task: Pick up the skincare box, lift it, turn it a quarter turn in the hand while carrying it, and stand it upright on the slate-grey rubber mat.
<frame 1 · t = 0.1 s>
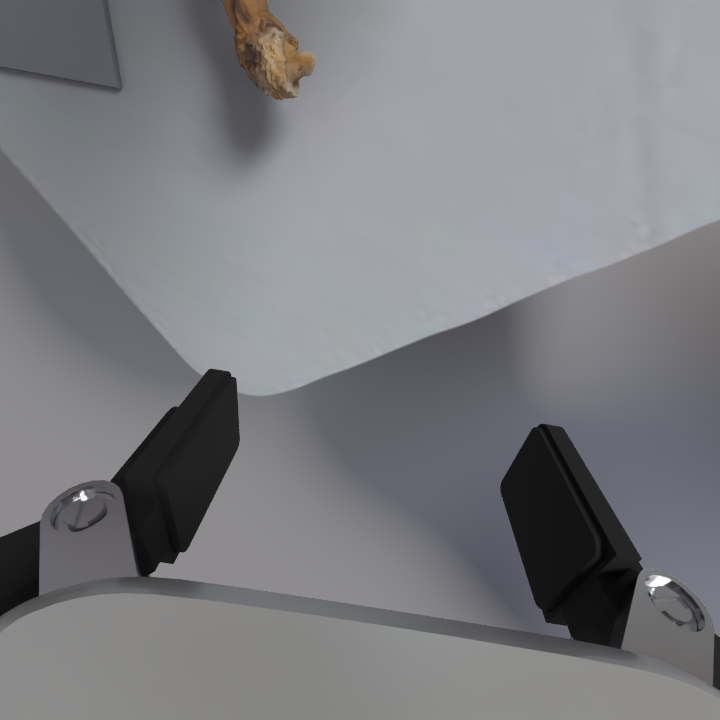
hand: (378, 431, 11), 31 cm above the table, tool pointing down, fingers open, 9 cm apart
lion figurine: (270, 14, 29), on the table
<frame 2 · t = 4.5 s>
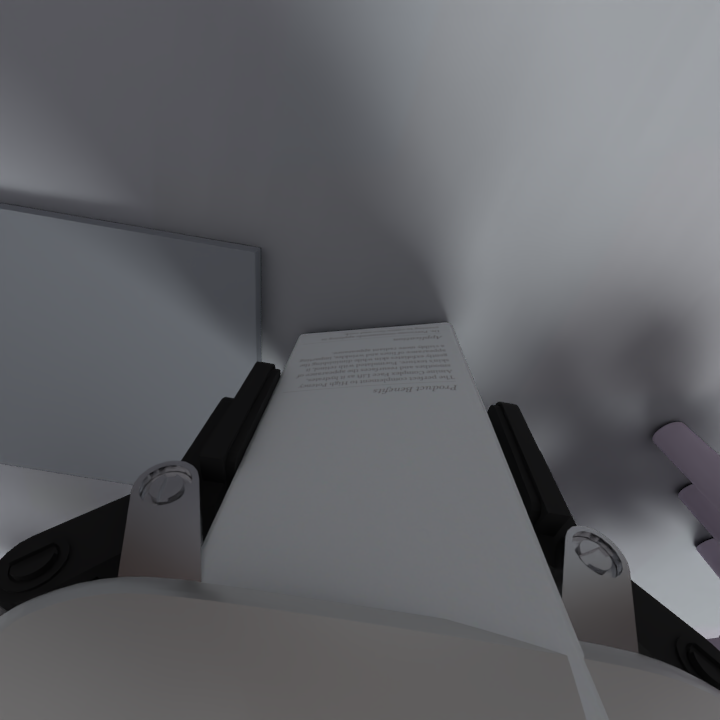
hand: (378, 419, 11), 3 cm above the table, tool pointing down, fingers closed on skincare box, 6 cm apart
mat: (87, 372, 16), on the table
skincare box: (381, 363, 14), on the table, touching gripper
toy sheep: (633, 548, 20), on the table
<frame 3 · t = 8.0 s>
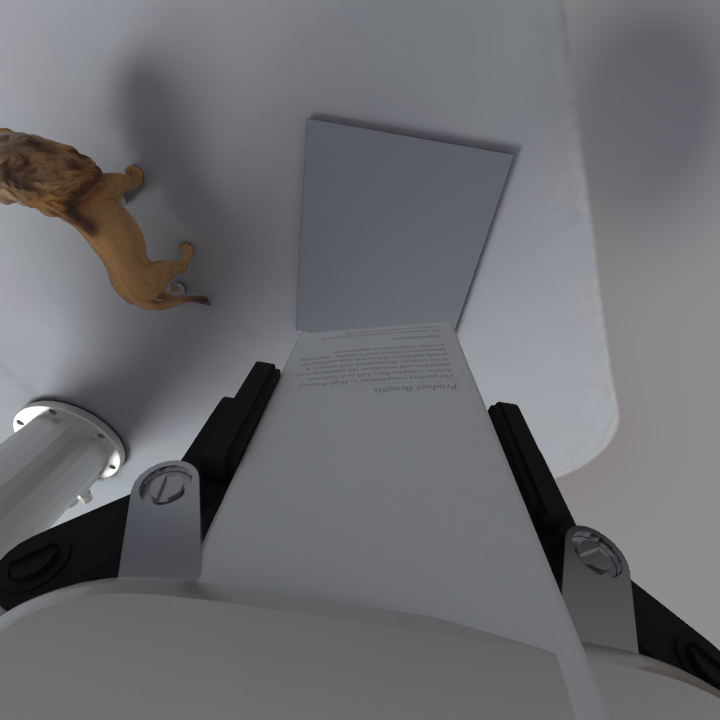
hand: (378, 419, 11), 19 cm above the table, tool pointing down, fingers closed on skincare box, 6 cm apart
lion figurine: (147, 222, 28), on the table
mat: (387, 253, 28), on the table
skincare box: (381, 362, 14), point 16 cm above the table, touching gripper
when the fingers open (5 cm above the table, at t = 11.2 s): skincare box drops 1 cm, resting on mat.
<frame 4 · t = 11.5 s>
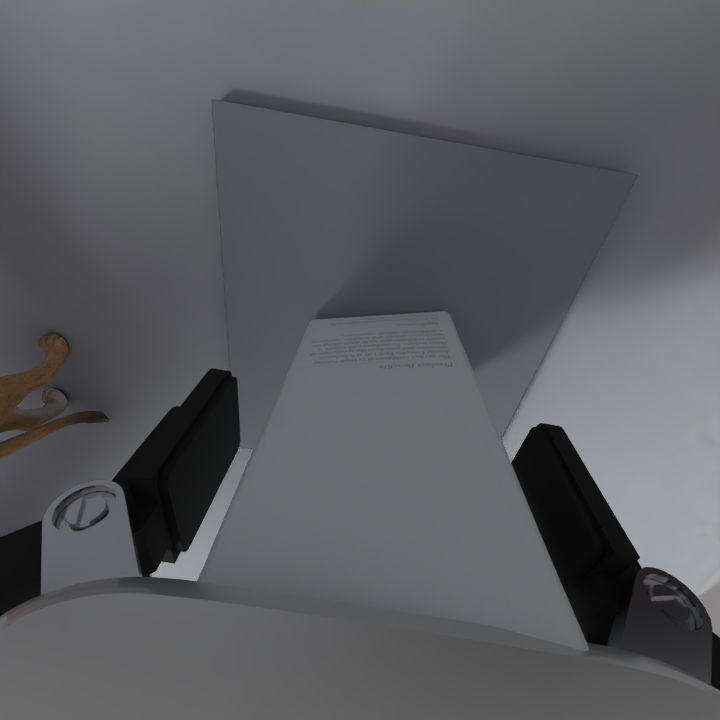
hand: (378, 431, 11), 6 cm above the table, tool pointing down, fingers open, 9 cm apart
mat: (382, 341, 16), on the table
skincare box: (384, 348, 16), resting on mat
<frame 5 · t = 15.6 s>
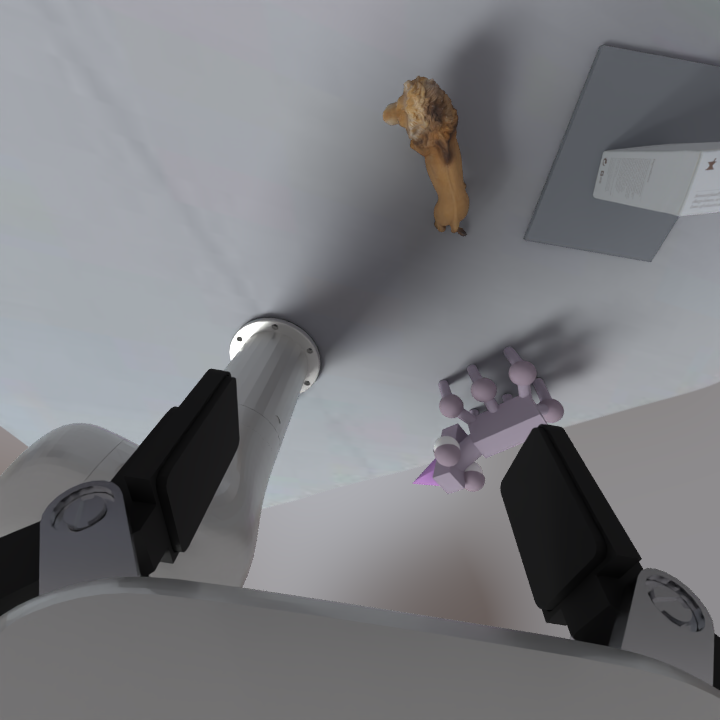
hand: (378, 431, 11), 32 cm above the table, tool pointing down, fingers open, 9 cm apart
lion figurine: (431, 165, 35), on the table
mat: (626, 167, 34), on the table
skincare box: (629, 169, 33), resting on mat
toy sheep: (465, 393, 50), on the table
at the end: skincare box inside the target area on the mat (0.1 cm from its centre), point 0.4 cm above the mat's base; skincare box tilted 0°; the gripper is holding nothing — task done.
